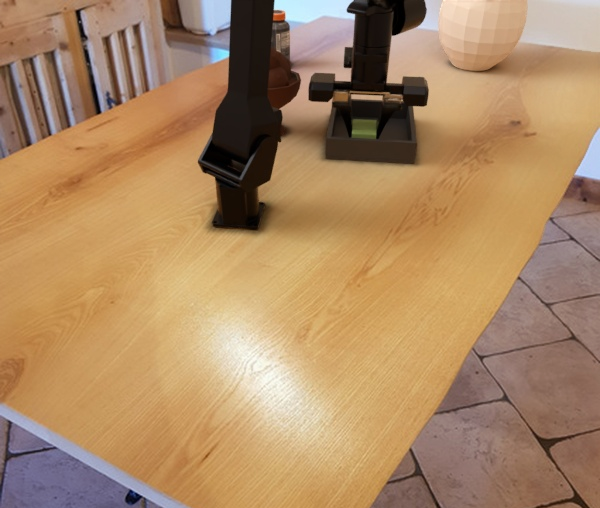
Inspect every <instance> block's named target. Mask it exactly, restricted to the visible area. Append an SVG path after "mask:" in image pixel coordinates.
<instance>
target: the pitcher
mask: <svg viewBox="0 0 600 508" xmlns="http://www.w3.org/2000/svg"><path fill="white" fill-rule="evenodd" d="M527 14H528V0H442V1H441V5H440V8H439V14H438V22H437V29H438V36H439V37H438V38H439V42H440V45H441V46H442V50H443V51H444V53H445V55H446V57H447V59H448V60H449V62H450V63H451V65H452V66H454V67H455V68H457V69H459V70H463V71H471V72H480V71H482V72H483V71H488V70H490V69H491V68H493V67H495V66H496V65H498V64H499V63H500V62H502V61H504V60H505V59H506V58H507V57H508V56H509V55H510V54H511V53H512V52H513V51H514V50H515V49H516V47H517V45H518V43H519V42H520V40H521V38H522V36H523V32H524V29H525V26H526V22H527Z"/></svg>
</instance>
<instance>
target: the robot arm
mask: <svg viewBox="0 0 600 508" xmlns="http://www.w3.org/2000/svg"><path fill="white" fill-rule="evenodd" d="M275 3H276V2H275V0H230V19H229V21H230V22H229V46H228V47H229V49H228V72H227V73H228V74H227V75H228V76H227V91H226V93H225V95H224V97H223V98H222V100H221V101H220V103H219V105H218V106H217V108H216V110H215V113H214V114H215V115H214V119H213V125H212V132H211V135H210V137H209V138H208V141H207V142H206V144H205V145H204V148H203V150H202V151H201V153H200V155H199V157H198V159H197V164H198V166H199V168H200V170H201V172H202V173H203V174H206V175H209V176H211V177H213V178H214V182H215V183H214V184H215V192H216V200H217V209H216V211H215V213H214V216H213V218H212V220H211V226H212V227H214V228H232V229H243V230H244V229H245V230H258V229H259V228H260V225H261V221H262V219H263V215H264V211H265V209H266V203H265V202H263V201H260V198H259V194H260V193H259V187H261V186H263V185H265V184H266V183H268V182H271V179H272V175H273V170H274V165H275V160H276V157H277V156H276V155H277V152H278V147H279V143H282V137H281V136H282V135H280V130H281V124H282V123H283V111H282V109H281V108H280V109H277V108H274V107H272V106H271V103H270V101H269V98H268V81H269V68H270V55H271V41H272V28H273V15H274V10H275ZM427 11H428V9H427V4H426V0H353V1H351V2H350V3H349V4H348V6H347V8H346V13H347V14H352V15H354V22H353V23H354V24H353V36H352V37H353V39H352V46H344V52H343V68H344V69H350V80H348V81H347V80H344V81H343V80H336V73H332V72H314V73H313V74H312V75H311V76H310V80H309V83H308V101H310V102H312V103H313V102H314V103H329V102H330V101H331V108H332V107H334V108H338V109H339V111H340V114H341V116H342V118H343V120H344V122H345V126H346V129H347V132H348V135H349V138H352V128H353V120H352V100H351V99H352V95H356V96H357V95H358V96H376V97H377V96H379V97H380V96H381V97H382V98H381V100H382V104H381V109H380V113H379V118H378V122H377V126H376V139H379V137H380V135H381V133H382V131H383V129H384V127H385V125H386V123H387V122H388V120H389V119H390V117H391V116H392V115H393V113H394V112H395V111H399V110H401V109H402V101H403V102H404V103H405V104H406V105H407V106H413V107H422V108H424V107H427V106H428V100H429V93H430V92H429V91H430V89H429V83H428V81H427V79H426V77H425V76H405V75H403V76H402V79H401V83H398V82H397V83H395V82H388V73H389V64H390V56H391V46H392V37H394V36H398V35H400V34H404V33H406V32H409V31H411V30H414V29H417V28H418V27H420V26H421V25H422V23H424V20H425V19H426V16H427ZM282 125H283V124H282Z"/></svg>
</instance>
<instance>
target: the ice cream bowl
mask: <svg viewBox="0 0 600 508" xmlns="http://www.w3.org/2000/svg"><path fill="white" fill-rule="evenodd" d="M291 68H292V65H291V59H290V60H289V59H288V58H287V57H286V56H284V55H283V54H282V53H281V52H278V51H276V50H275V49H274V48H273V47H272V46H271V55H270V68H269V81H268V98H269V101H270V103H271V106H272V107H274V108H277V109H280V110H281V108H283V107H285V106H287V105H288V104H290V103H291V102H292V101H293V100H294V99H295V98H296V97H297V94H298V93H299V91H300V89H301V84H302V78H301V76H300V73H299V72H296V71H295V70H292V69H291ZM285 133H286V128H285V125H283V124H281V130H280V135H281V136H282V135H284V134H285Z"/></svg>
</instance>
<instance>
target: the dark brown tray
mask: <svg viewBox="0 0 600 508" xmlns="http://www.w3.org/2000/svg"><path fill="white" fill-rule="evenodd" d="M351 100H352V120H353V119H363V120H376V126H377V122H378V118H379V113H380V109H381V104H382V99H381V100H380V99H361V98H351ZM401 101H402V109H401V110H399V111H395V112H394V113H393V115H392V116H391V117H390V119H389V120H388V122H387V123H386V125H385V127H384V129H383V131H382V133H381V135H380V137H379V139H368V138H349V135H348V132H347V129H346V126H345V122H344V120H343V118H342V116H341V114H340V111H339V109H338V108H334V107H332V106H331V108H330V115H329V120H328V125H327V126H328V127H327V132H326V136H325V137H326V138H325V155H324V156H325V158H324V159H326V160H339V161H340V160H341V161H358V162H359V161H361V162H375V163H376V162H378V163H393V164H395V163H396V164H412V165H413V164H415V160H416V154H417V149H418V139H417V130H416V121H415V113H414V112H415V111H414V106H407V105H406V104H405V103H404V102H403V100H401Z"/></svg>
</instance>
